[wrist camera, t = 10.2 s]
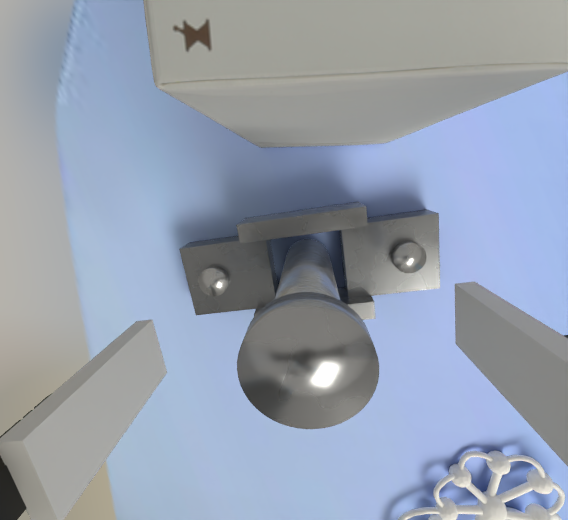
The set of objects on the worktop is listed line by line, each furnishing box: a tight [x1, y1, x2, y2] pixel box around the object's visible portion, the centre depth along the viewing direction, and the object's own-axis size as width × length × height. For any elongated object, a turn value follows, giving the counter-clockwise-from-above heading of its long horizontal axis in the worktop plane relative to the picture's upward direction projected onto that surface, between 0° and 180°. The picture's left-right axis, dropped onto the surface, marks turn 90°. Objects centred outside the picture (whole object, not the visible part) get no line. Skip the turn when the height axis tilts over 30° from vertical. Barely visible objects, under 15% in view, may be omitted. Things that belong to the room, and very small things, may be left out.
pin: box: [237, 239, 379, 429], centre depth 16 cm, size 5×5×13 cm
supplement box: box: [143, 0, 568, 148], centre depth 12 cm, size 9×9×15 cm
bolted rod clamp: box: [180, 202, 440, 320], centre depth 21 cm, size 17×7×3 cm, turn 99°
